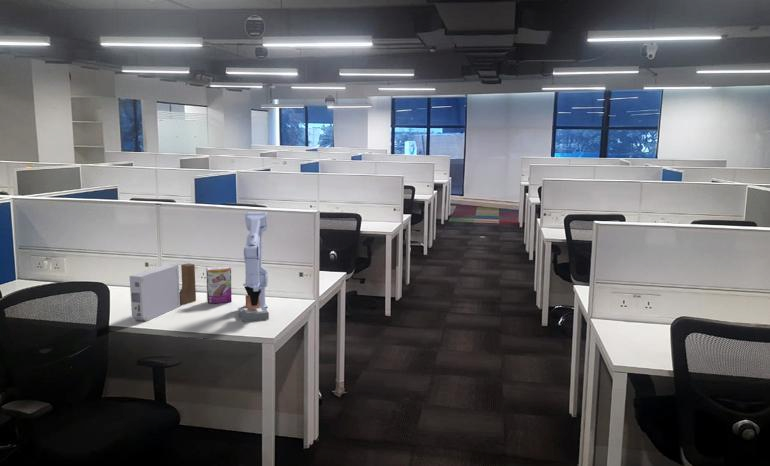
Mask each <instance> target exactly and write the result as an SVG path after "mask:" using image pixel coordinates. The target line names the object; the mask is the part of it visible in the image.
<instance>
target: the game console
mask: <svg viewBox="0 0 770 466" xmlns="http://www.w3.org/2000/svg"><path fill="white" fill-rule="evenodd" d="M179 273H180V271H179V263H167V264H164V265H161V266H158V267H157V266H156V267H154V268H151V269H148V270H145V271H141V272H138V273H135V274H131V275H129V287H130V288H129V289H130V303H131V304H130V305H131V307H130V309H131V317H132V318H133V319H134V320H135V321H142V322H148V321H150V320H152V319H153V320H154V319H155V318H157V317H160V316H162V315H164V314H166V313H169V312H171V311H173V310H175V309H178V308H180V307H181V305H180V277H179V276H180V274H179Z"/></svg>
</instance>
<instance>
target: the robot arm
mask: <svg viewBox="0 0 770 466" xmlns="http://www.w3.org/2000/svg"><path fill="white" fill-rule="evenodd" d="M268 216H269V215H268V212H267V211H247V212H246V213H245V216H244V221H245V222H244V223H245V226H246V229H247V231H248V232H249V234H248V235H246V242H245V247H243V259H244V264H245V265H244V267H245V277H244V278H245V281H244V282H245V283H243V284H242V286H244V289H245V292H246V294H247V295H250V299H251V304H252V306H257V303H258V298H259V304H260V306H264V307H265V309H267V308H268V305H267V304H266V288H267V287H268V286H269V275H268V270H267V269H266V268H264V267H263V266H262V265H263V263H262V262H263V260H262V259H263V235H264V232H266V231H267V230H268V220H269V217H268Z"/></svg>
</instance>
